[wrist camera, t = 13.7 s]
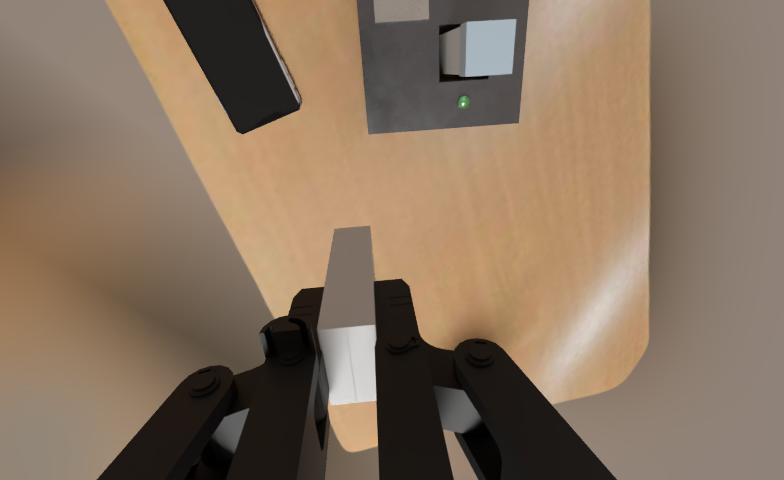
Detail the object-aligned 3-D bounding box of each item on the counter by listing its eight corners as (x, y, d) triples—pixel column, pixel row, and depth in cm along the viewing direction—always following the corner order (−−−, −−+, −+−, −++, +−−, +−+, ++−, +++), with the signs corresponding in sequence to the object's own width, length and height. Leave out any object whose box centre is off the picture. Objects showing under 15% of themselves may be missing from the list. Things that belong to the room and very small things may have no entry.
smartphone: (228, -53, 34) (303, 107, 40) (232, -49, 35) (305, 106, 41) (152, -16, 34) (237, 136, 40) (158, -13, 36) (241, 134, 42)
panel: (355, -19, 36) (354, -30, 32) (515, -29, 37) (534, -40, 33) (368, 128, 42) (368, 134, 38) (505, 118, 43) (520, 123, 39)
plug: (437, 34, 38) (466, 21, 28) (473, 32, 39) (516, 18, 28) (437, 74, 40) (465, 76, 29) (471, 72, 40) (512, 73, 29)
